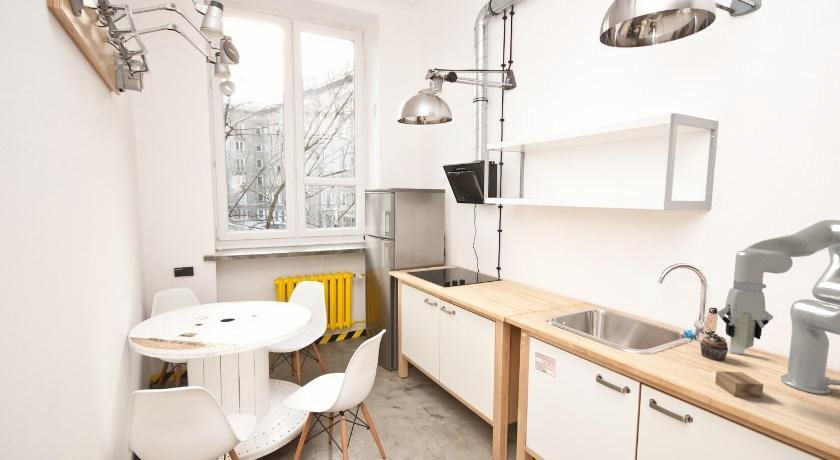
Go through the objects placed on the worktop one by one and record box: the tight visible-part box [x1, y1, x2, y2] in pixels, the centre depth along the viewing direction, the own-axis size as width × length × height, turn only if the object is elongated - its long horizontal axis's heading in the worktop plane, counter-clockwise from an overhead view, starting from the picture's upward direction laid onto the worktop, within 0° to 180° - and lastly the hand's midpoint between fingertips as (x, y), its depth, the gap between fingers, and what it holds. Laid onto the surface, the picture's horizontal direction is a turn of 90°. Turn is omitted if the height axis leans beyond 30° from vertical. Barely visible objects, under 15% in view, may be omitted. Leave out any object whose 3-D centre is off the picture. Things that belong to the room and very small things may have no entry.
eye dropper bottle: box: [727, 336, 746, 355], centre depth 167 cm, size 4×6×12 cm
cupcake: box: [699, 333, 729, 362], centre depth 161 cm, size 10×10×10 cm
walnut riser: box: [714, 370, 764, 399], centre depth 133 cm, size 9×9×5 cm
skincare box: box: [731, 314, 756, 350], centre depth 131 cm, size 6×4×12 cm
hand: (742, 336), depth 132 cm, fingers closed on skincare box, 7 cm apart
